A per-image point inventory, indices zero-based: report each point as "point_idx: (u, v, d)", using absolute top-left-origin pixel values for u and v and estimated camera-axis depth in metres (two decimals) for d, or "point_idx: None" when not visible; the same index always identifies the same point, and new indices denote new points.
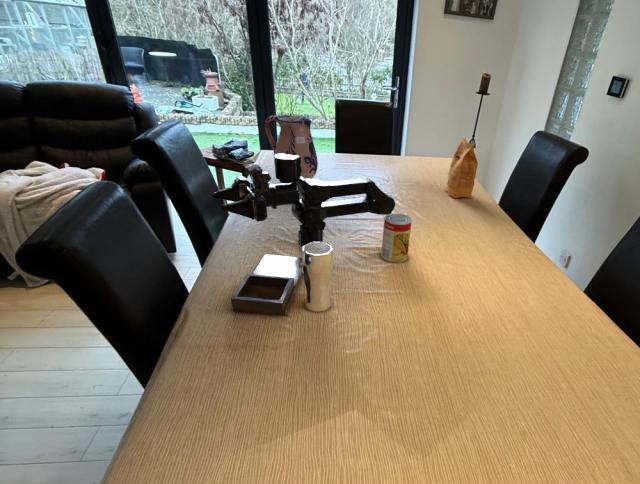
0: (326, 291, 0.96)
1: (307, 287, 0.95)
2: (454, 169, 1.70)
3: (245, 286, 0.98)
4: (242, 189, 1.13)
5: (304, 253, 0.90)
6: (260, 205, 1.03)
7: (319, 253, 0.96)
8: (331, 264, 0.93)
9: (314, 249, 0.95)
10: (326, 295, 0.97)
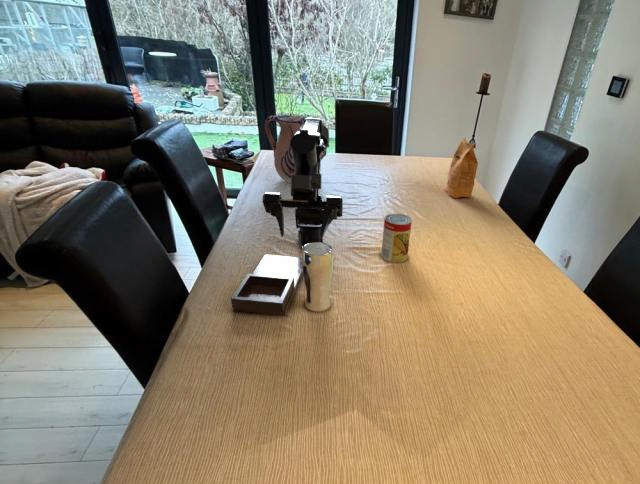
0: (326, 291, 0.96)
1: (307, 287, 0.95)
2: (454, 169, 1.70)
3: (245, 286, 0.98)
4: (281, 204, 0.99)
5: (304, 253, 0.90)
6: None
7: (319, 253, 0.96)
8: (331, 264, 0.93)
9: (314, 249, 0.95)
10: (326, 295, 0.97)
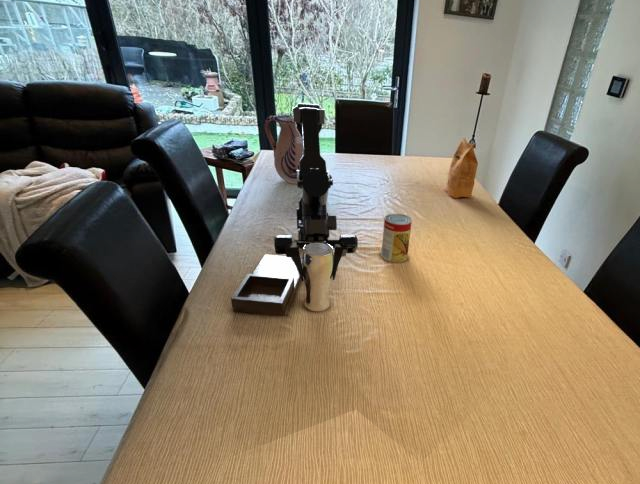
0: (326, 291, 0.96)
1: (307, 287, 0.95)
2: (454, 169, 1.70)
3: (245, 286, 0.98)
4: None
5: (305, 253, 0.90)
6: None
7: (320, 253, 0.96)
8: (332, 265, 0.93)
9: (315, 249, 0.95)
10: (326, 295, 0.97)
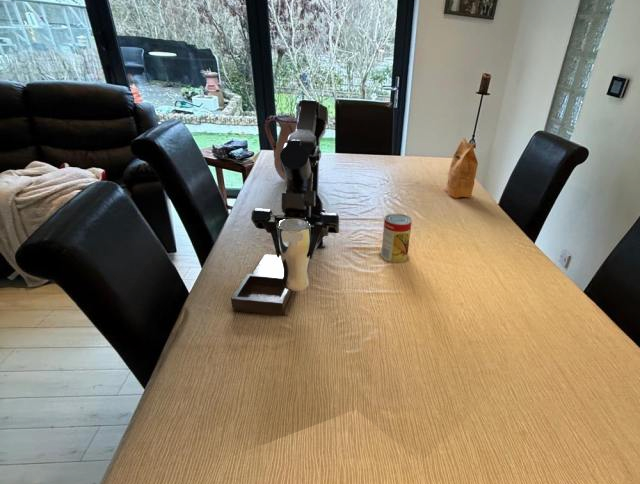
0: (302, 270, 0.92)
1: (283, 264, 0.91)
2: (454, 169, 1.70)
3: (245, 286, 0.98)
4: None
5: (279, 228, 0.86)
6: None
7: (299, 230, 0.92)
8: (307, 242, 0.88)
9: (294, 226, 0.91)
10: (302, 274, 0.93)
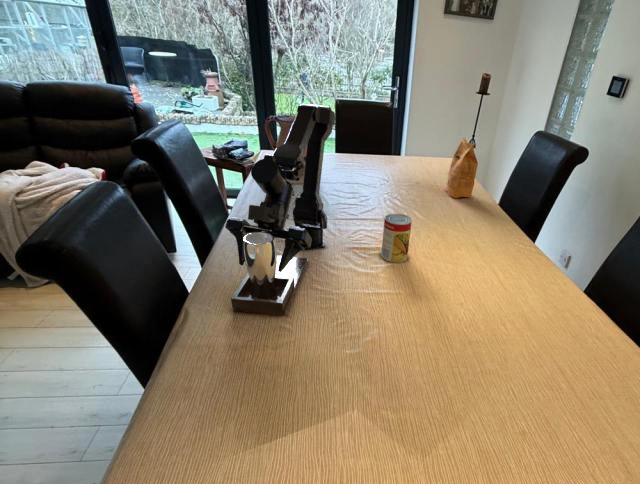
0: (267, 283, 0.94)
1: (249, 275, 0.94)
2: (454, 169, 1.70)
3: (245, 286, 0.98)
4: (245, 231, 0.95)
5: None
6: (306, 237, 0.92)
7: None
8: (270, 256, 0.90)
9: (263, 239, 0.94)
10: (267, 287, 0.95)
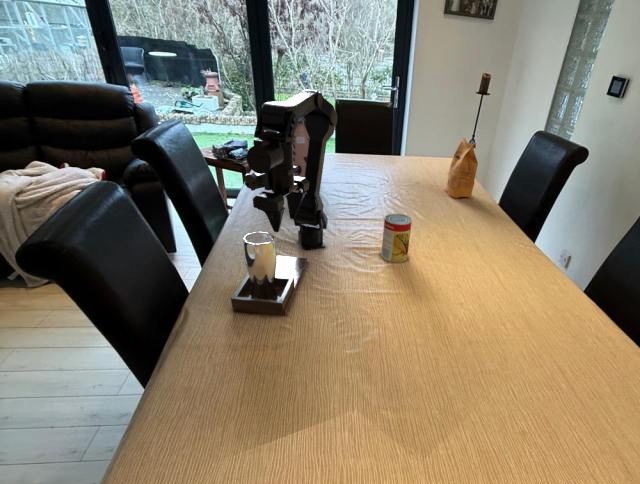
0: (267, 283, 0.94)
1: (249, 275, 0.94)
2: (454, 169, 1.70)
3: (245, 286, 0.98)
4: None
5: None
6: (259, 204, 0.94)
7: None
8: (270, 256, 0.90)
9: (263, 239, 0.94)
10: (267, 287, 0.95)
